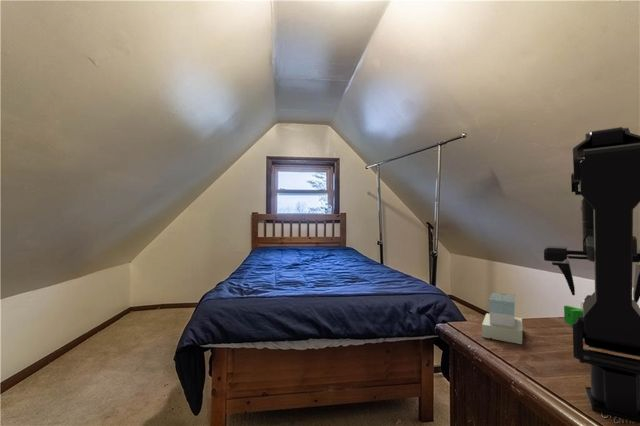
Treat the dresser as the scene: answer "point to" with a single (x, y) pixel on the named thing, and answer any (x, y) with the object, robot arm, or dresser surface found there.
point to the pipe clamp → (572, 314)
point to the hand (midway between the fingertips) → (603, 298)
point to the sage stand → (502, 331)
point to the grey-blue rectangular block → (502, 310)
